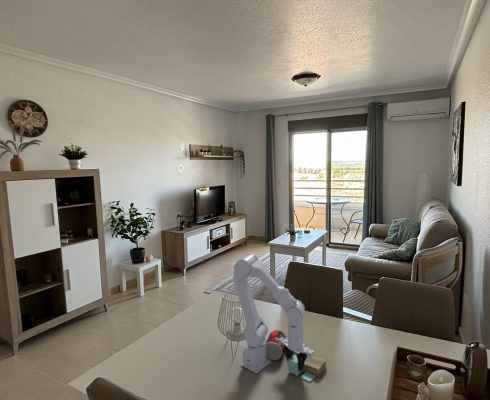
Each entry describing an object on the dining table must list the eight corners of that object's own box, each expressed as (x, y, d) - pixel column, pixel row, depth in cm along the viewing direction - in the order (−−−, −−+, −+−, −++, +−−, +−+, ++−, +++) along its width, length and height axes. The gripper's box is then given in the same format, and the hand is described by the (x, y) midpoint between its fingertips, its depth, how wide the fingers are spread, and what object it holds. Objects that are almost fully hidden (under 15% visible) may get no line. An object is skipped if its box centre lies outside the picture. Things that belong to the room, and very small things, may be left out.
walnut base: (318, 378, 119) (318, 369, 118) (301, 371, 123) (301, 362, 123) (326, 368, 124) (326, 360, 124) (309, 362, 128) (309, 354, 128)
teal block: (297, 375, 119) (297, 363, 118) (288, 371, 122) (288, 359, 121) (302, 370, 122) (302, 358, 121) (294, 366, 125) (294, 354, 124)
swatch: (309, 382, 116) (309, 381, 116) (300, 377, 119) (300, 376, 119) (315, 376, 119) (315, 375, 119) (306, 372, 122) (306, 371, 122)
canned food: (289, 344, 138) (284, 358, 128) (272, 347, 141) (267, 362, 131) (283, 327, 138) (278, 340, 128) (266, 331, 141) (260, 344, 131)
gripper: (317, 336, 118) (317, 370, 120) (285, 323, 128) (285, 355, 129) (308, 344, 113) (308, 379, 115) (275, 330, 123) (275, 363, 124)
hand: (295, 367), depth 122 cm, fingers closed on teal block, 4 cm apart
